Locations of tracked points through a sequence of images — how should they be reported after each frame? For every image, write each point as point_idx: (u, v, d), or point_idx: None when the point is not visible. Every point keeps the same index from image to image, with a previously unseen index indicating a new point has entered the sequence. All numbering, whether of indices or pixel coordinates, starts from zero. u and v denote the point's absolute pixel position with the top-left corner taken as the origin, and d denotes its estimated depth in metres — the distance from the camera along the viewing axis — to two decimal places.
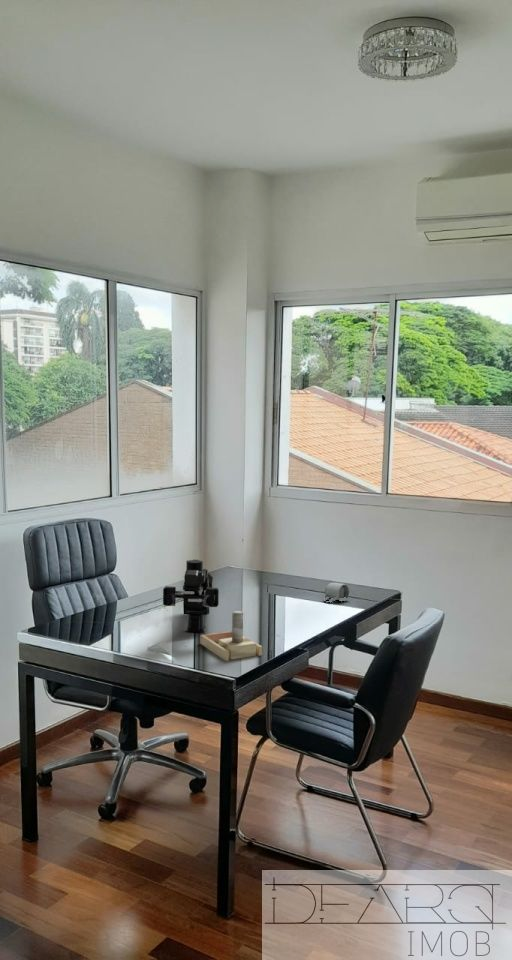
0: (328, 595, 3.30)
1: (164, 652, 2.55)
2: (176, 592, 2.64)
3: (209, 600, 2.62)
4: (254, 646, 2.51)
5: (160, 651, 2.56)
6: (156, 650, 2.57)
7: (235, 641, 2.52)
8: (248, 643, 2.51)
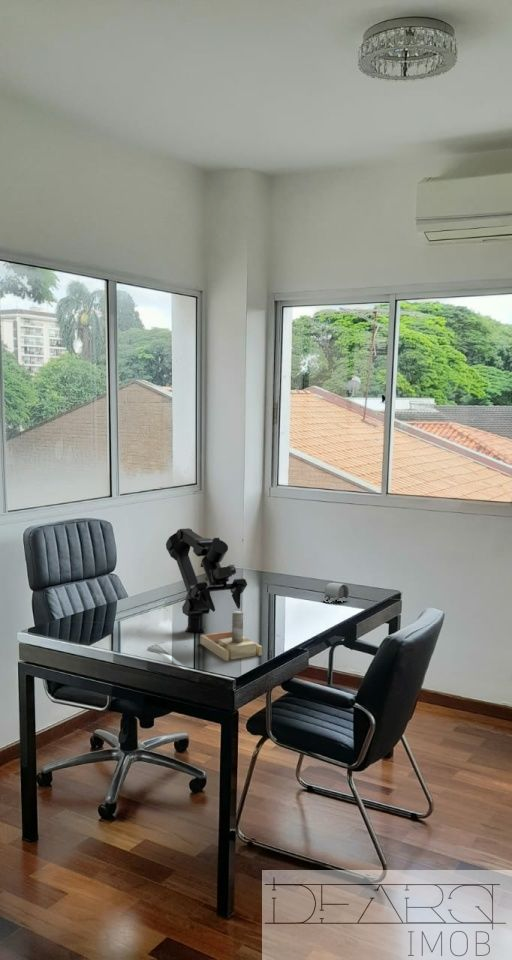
0: (328, 595, 3.29)
1: (164, 652, 2.55)
2: (207, 587, 2.61)
3: None
4: (254, 646, 2.51)
5: (160, 651, 2.56)
6: (156, 650, 2.57)
7: (235, 641, 2.52)
8: (248, 643, 2.51)
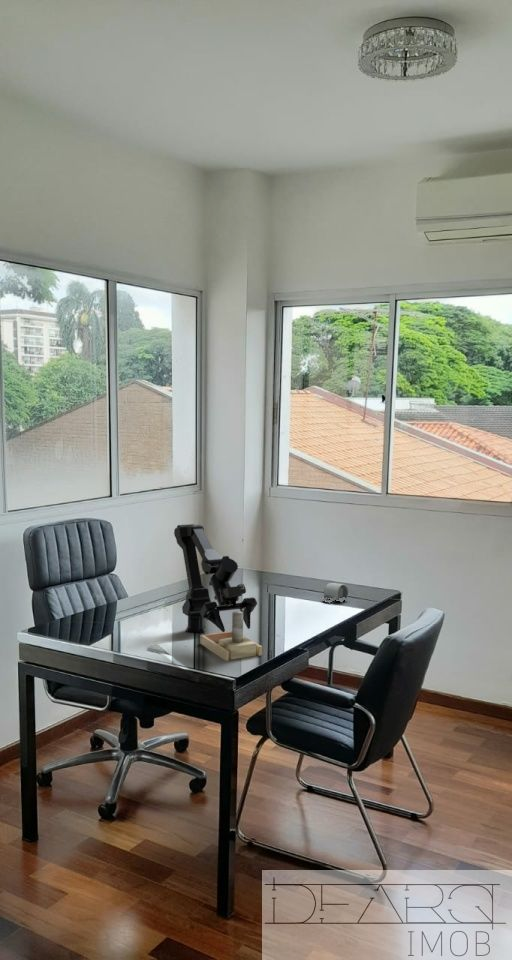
0: (327, 595, 3.29)
1: (164, 652, 2.55)
2: (216, 607, 2.55)
3: None
4: (254, 646, 2.51)
5: (160, 651, 2.56)
6: (156, 650, 2.57)
7: (235, 641, 2.52)
8: (248, 643, 2.51)
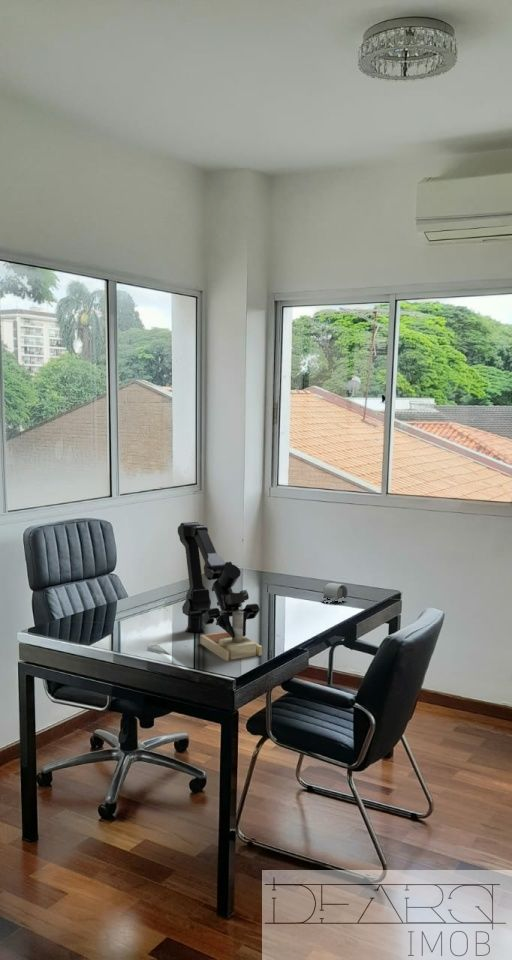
0: (326, 595, 3.29)
1: (164, 652, 2.55)
2: None
3: None
4: (254, 646, 2.51)
5: (160, 651, 2.56)
6: (156, 650, 2.57)
7: (235, 641, 2.52)
8: (248, 643, 2.51)
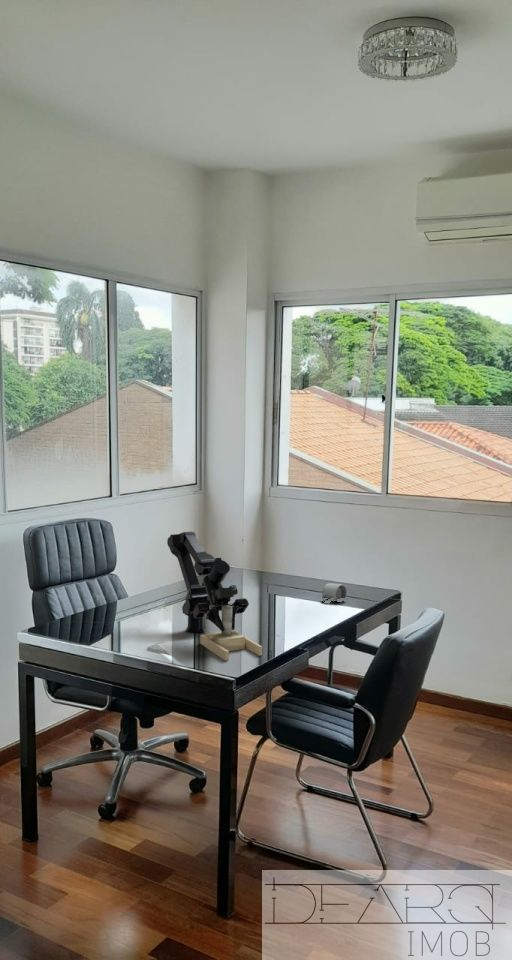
0: (325, 596, 3.29)
1: (164, 652, 2.55)
2: None
3: None
4: (243, 639, 2.58)
5: (160, 651, 2.56)
6: (156, 650, 2.57)
7: (224, 634, 2.58)
8: (237, 636, 2.58)
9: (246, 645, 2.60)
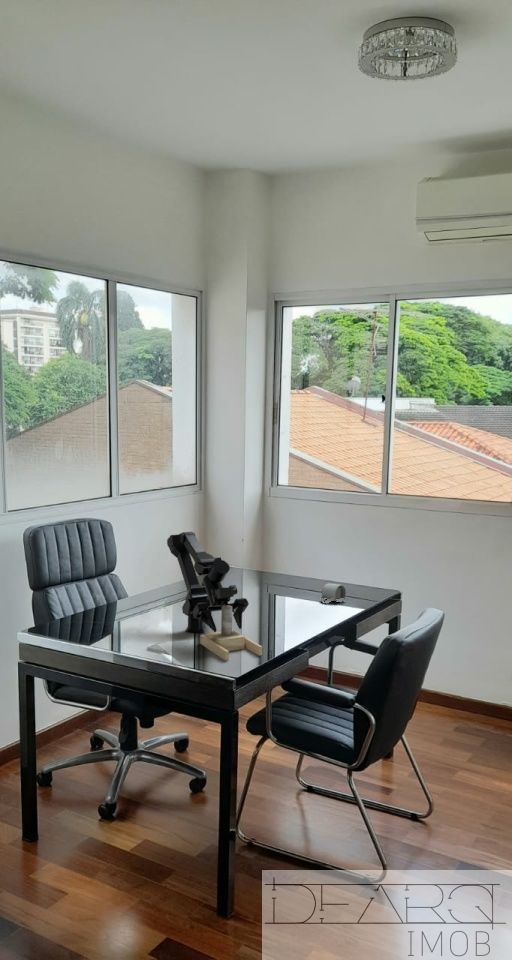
0: (325, 596, 3.28)
1: (164, 652, 2.55)
2: (208, 607, 2.60)
3: None
4: (243, 639, 2.58)
5: (160, 651, 2.56)
6: (156, 650, 2.57)
7: (224, 634, 2.59)
8: (237, 636, 2.58)
9: (246, 645, 2.60)
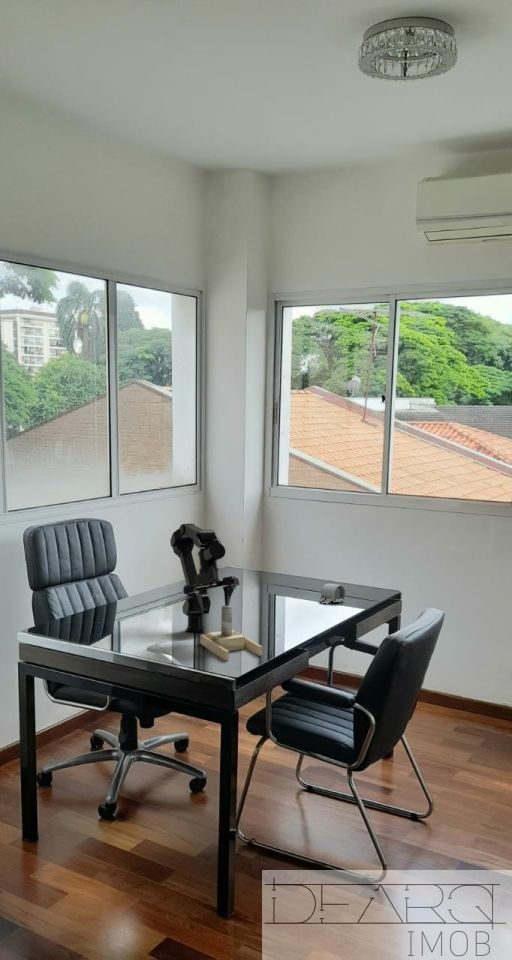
0: (324, 596, 3.28)
1: (163, 652, 2.55)
2: (196, 588, 2.67)
3: (230, 588, 2.65)
4: (243, 639, 2.58)
5: (159, 651, 2.56)
6: (155, 650, 2.57)
7: (224, 634, 2.59)
8: (237, 636, 2.58)
9: (246, 645, 2.60)
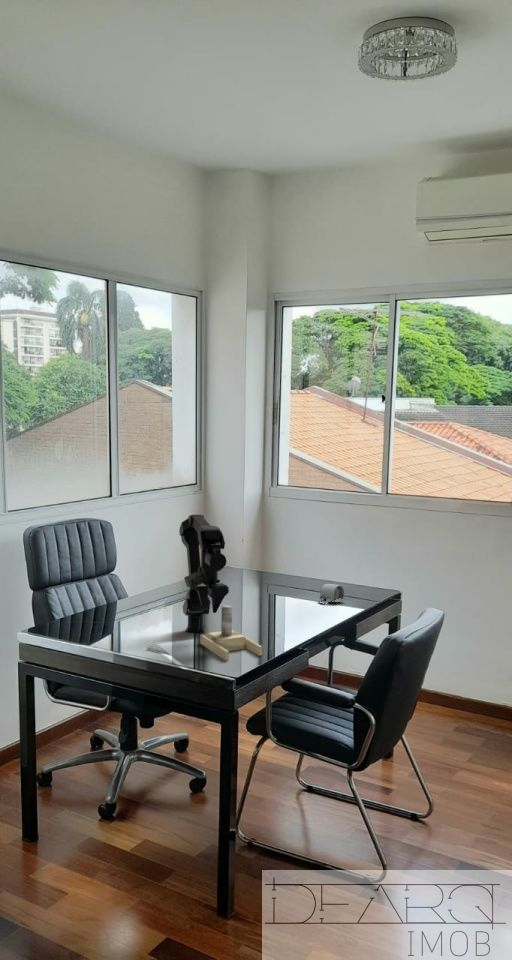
0: (323, 596, 3.27)
1: (163, 652, 2.55)
2: None
3: None
4: (243, 639, 2.58)
5: (159, 651, 2.56)
6: (155, 650, 2.57)
7: (224, 634, 2.59)
8: (237, 636, 2.58)
9: (246, 645, 2.60)
